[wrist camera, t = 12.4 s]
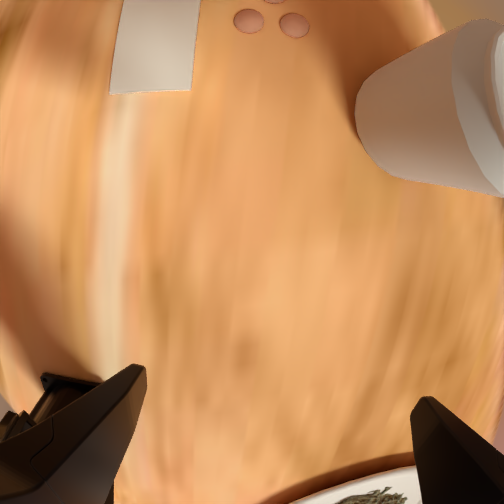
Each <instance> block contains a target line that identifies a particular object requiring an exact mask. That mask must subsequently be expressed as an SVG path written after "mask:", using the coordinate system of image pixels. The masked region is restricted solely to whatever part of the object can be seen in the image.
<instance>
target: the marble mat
mask: <svg viewBox="0 0 504 504" xmlns="http://www.w3.org/2000/svg"><path fill="white" fill-rule="evenodd" d="M264 1H266V2H268V3H274V4H276V3H281V2H283V1H284V0H264ZM200 3H201V0H124V3H123V7H122V12H121V17H120V22H119V28H118V33H117V39H116V45H115V51H114V58H113V65H112V73H111V82H110V91H109V94H110V95H117V94H129V93H142V92H160V91H191V90H192V78H193V67H194V56H195V46H196V37H197V28H198V19H199V11H200ZM234 24H235V26H236V28H237V29H238V30H240V31H241V32H244V33H255V32H257V31H259V30H260V29H261V28H262V27H263V24H264V18H263V16H262V15H261V14H260V13H259V12H257V11H255V10H250V9H247V10H243V11H240V12H239V13H238V14H237V15H236V16H235V19H234ZM280 27H281V29H282V31H283V32H284V33H285V34H286V35H288V36H291V37H296V38H297V37H302V36H304V35H306V34H307V32H308V30H309V23H308V21H307V20H306V19H305V18H304V17H303V16H301V15H298V14H287V15H285V16H284V17H283V18H282V19H281V22H280Z"/></svg>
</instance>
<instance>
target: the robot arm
mask: <svg viewBox="0 0 504 504" xmlns="http://www.w3.org/2000/svg"><path fill="white" fill-rule="evenodd" d="M40 378H41V381H42V384H43V387H44V390H45V392H44V394H43V395H42V396H41V398H40V399H39V401H38V402H37V404H36V405H35V407H34V408H33V410H32V411H31V413H30V414H28V413H27V412H26V411H25V410H23V411H22V412H21V413H20V414H19V415H18V414H17V413H13V412H11V411H8V412H7V413H6V414H5V416H4V417H3V418H2V420H1V421H0V504H114V479H115V476H116V474H117V472H118V469H119V467H120V464H121V462H122V460H123V457H124V455H125V453H126V450H127V448H128V446H129V443H130V441H131V439H132V436H133V434H134V431H135V428H136V425H137V421H138V418H139V414H140V411H141V407H142V404H143V401H144V397H145V394H146V390H147V377H146V368H145V367H144V366H142V365H138V364H131V365H129V366H128V367H126V368H125V369H123V370H122V371H120V372H118V373H117V374H115V375H114V376H112V377H111V378H109V379H108V380H106V381H105V382H103V383H102V384H99V383H93V382H88V381H82V380H77V379H72V378H67V377H62V376H57V375H53V374H48V373H43V374H42V375H41V377H40ZM410 422H411V431H412V441H413V451H414V458H415V464H416V469H417V474H418V480H419V486H420V492H421V498H422V504H504V455H503V454H502V453H500V452H499V451H498V450H496V448H494V447H493V446H492V445H491V444H490V443H488V442H487V441H486V440H485V439H483V438H482V437H481V436H480V435H479V434H477V433H476V432H475V431H474V430H473V429H471V428H470V427H469V426H468V425H467V424H465V423H464V422H463V421H462V420H461V419H459V418H458V417H457V416H456V415H454V414H453V413H452V412H451V411H450V410H448V409H447V408H446V407H445V406H444V405H442V404H441V403H440V402H439V401H437V400H436V399H435V398H434V397H432V396H424V397H421V398H420V399H419V401H418V403H417V404H416V406H415V407H414V409H413V410H412V412H411V415H410Z"/></svg>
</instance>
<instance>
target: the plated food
mask: <svg viewBox="0 0 504 504" xmlns="http://www.w3.org/2000/svg"><path fill="white" fill-rule="evenodd" d="M289 504H422V498H421V492H420V486H419V480H418V474H417V469H416V465H414V466H408V467H401V468H397V469H393V470H389V471H384V472H380V473H376V474H373V475H369V476H366V477H363V478H359V479H356V480H352V481H349V482H346V483H343V484H340V485H337V486H334V487H331V488H328V489H325V490H322V491H319V492H317V493H314V494H312V495H309V496H306V497H303V498H301V499H298V500H296V501H294V502H291V503H289Z"/></svg>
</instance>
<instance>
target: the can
mask: <svg viewBox="0 0 504 504" xmlns="http://www.w3.org/2000/svg"><path fill="white" fill-rule="evenodd" d="M354 115H355V121H356V127H357V133H358V135H359V138H360V140H361V142H362V144H363V146H364V149H365V151H366V152H367V153H368V155H369V156H370V157H371V158H372V160H373V161H374V162H375V163H376V164H377V166H379V167H380V168H382V169H383V170H385V171H386V172H387V173H389V174H390V175H392V176H395V177H399V178H402V179H406V180H411V181H417V182H424V183H430V184H436V185H442V186H447V187H453V188H458V189H464V190H469V191H474V192H479V193H484V194H488V195H493V196H498V197H502V198H504V25H502V24H500V23H497V22H494V21H492V20H489V19H479V20H471V21H469V22H467V23H465V24H463V25H460V26H458V27H456V28H454V29H452V30H450V31H448V32H446V33H444V34H442V35H440V36H438V37H436V38H434V39H432V40H430V41H429V42H427V43H425V44H423V45H421V46H419V47H417V48H415V49H413V50H412V51H410V52H408V53H406V54H404V55H403V56H401V57H399V58H397V59H395V60H394V61H392V62H390V63H388V64H387V65H385V66H383V67H381V68H380V69H378V70H376V71H375V72H374V73H373V74H371V75H370V76H369V77H368V78H367V79H366V80H365V81H364V82H363V84H362V86H361V88H360V90H359V92H358V94H357V97H356V105H355V113H354Z"/></svg>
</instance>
